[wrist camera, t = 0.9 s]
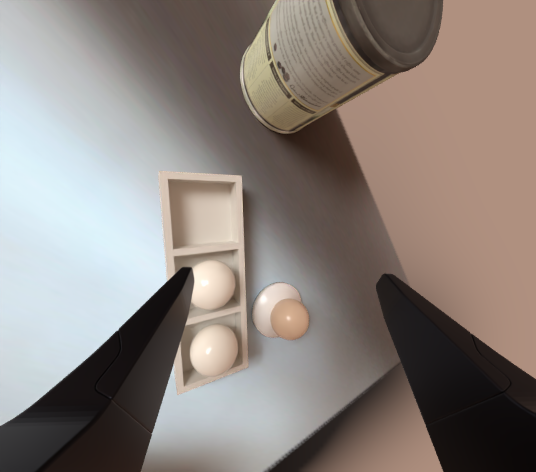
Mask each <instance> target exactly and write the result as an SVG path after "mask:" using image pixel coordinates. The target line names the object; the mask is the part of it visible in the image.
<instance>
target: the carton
mask: <svg viewBox="0 0 536 472" xmlns="http://www.w3.org/2000/svg"><path fill="white" fill-rule="evenodd" d="M158 180H159V192H160V204H161V216H162V229H163V241H164V253H165V265H166V277H167V281H168V280H169V279H170V278H171V277H172V276H173V275H174V274H175V273H176V272H177V271H178V270H179V269H180V268H181V267H192V268H193V267H194V266H195V265H196V264H198V263H200V262H202V261H205V260H218V261H221V262H223V263H225V264H226V265H227V266H229V267H230V269H231V270H232V272H233V274H234V276H235V282H236V284H235V290H234V293H233V295H232V297H231V299H230V300H229V301H228V302H227V303H226V304H225V305H223V306H222V307H220V308H217V309H213V310H205V309H201V308H198V307H196V306H195V305H193V304H192V303H191V304H190V310H189V315H188V318H187V322H186V325H185V328H184V332H183V335H182V338H181V341H180V345H179V348H178V351H177V354H176V358H175V361H174V374H175V381H176V389H177V395H179V394H182V393H184V392H187V391H189V390H192V389H194V388H197V387H199V386H202V385H205V384H207V383H210V382H212V381H215V380H217V379H220V378H222V377H225V376H227V375H230V374H232V373H235V372H237V371H240V370H243V369H245V368H248V343H247V314H246V286H245V258H244V229H243V201H242V176H236V175H219V174H202V173H185V172H168V171H159V175H158ZM211 324H222V325H225V326H227V327H229V328H230V329H231V330H232V331H233V332H234V334H235V336H236V338H237V341H238V353H237V357H236V360H235V362H234V363H233V365H232V366H231V368H230V369H229V370H227V371H226V372H225V373H223V374H221V375H219V376H215V377H207V376H204V375H201V374H200V373H198V372H197V371H196V370H195V368H194V367H193V365H192V363H191V360H190V346H191V343H192V341H193V339H194V337H195V335H196V334H197V333H198V332H199V331H200V330H201V329H202V328H204V327H206V326H208V325H211Z"/></svg>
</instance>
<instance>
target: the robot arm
mask: <svg viewBox="0 0 536 472" xmlns="http://www.w3.org/2000/svg"><path fill="white" fill-rule="evenodd" d="M193 288H194V274H193V269H192V267H181V268H180V269H179V270H178V271H177V272H176V273H175V274H174V275H173V276H172V277H171V278H170V279H169V280H168V281H167V282H166V283H165V284H164V285H163V286H162V287H161V288H160V289H159V290H158V291H157V292H156V293H155V294H154V295H153V296H152V297H151V298H150V299H149V300H148V301H147V302H146V303H145V304H144V305H143V306H142V307H141V308H140V309H139V310H138V311H137V312H136V313H135V314H134V315H133V316H131V317H130V318H129V319H128V320H127V321H126V322H125V323H124V324H123V325H122V326H121V327H120V328H119V331H116V332H115V333H114V334H113V335H112V336H111V337H110V338H109V339H108V340H107V341H106V342H105V343H104V344H103V345H102V346H101V347H99V348H98V349H97V350H96V351H95V352H94V353H93V354H92V355H91V356H90V357H88V358H87V359H86V360H85V361H84V362H83V363H82V364H80V365H79V366H78V367H77V368H76V369H75V370H73V371H72V372H71V373H70V374H69V375H67V376H66V377H65V378H64V379H63V380H62V381H60V382H59V383H58V384H57V385H56V386H54V387H53V388H52V389H51V390H50V391H49V392H47V393H46V394H45V395H44V396H43V397H41V398H40V399H39V400H38V401H37V402H35V403H34V404H33V405H32V406H30V407H29V408H28V409H26V410H25V411H24V412H22V413H21V414H19V415H18V416H16V417H15V418H13V419H12V420H10V421H8V422H7V423H5V424H3V425H1V426H0V472H141V468H142V465H143V462H144V459H145V455H146V452H147V449H148V446H149V442H150V439H151V436H152V434H151V433H152V432H153V429H154V426H155V423H156V419H157V416H158V413H159V410H160V406H161V403H162V400H163V397H164V393H165V390H166V387H167V384H168V380H169V377H170V374H171V371H172V367H173V364H174V361H175V358H176V354H177V351H178V348H179V345H180V341H181V338H182V335H183V332H184V328H185V325H186V322H187V318H188V315H189V310H190V304H191V299H192V293H193ZM376 291H377V294H378V298H379V302H380V305H381V309H382V313H383V316H384V319H385V322H386V324H387V327H388V330H389V332H390V335H391V337H392V340H393V343H394V345H395V348H396V350H397V353H398V355H399V358H400V361H401V363H402V366H403V368H404V371H405V373H406V376H407V378H408V381H409V383H410V386H411V389H412V391H413V394H414V396H415V399H416V402H417V404H418V407H419V409H420V412H421V415H422V417H423V420H424V422H425V424H426V428H427V430H428V433H429V435H430V438H431V441H432V443H433V446H434V448H435V451H436V454H437V456H438V459H439V461H440V464H441V466H442V469H443V472H536V379H535V378H533V377H532V376H530V375H529V374H527V373H526V372H524V371H523V370H522V369H520V368H518V367H517V366H516V365H514V364H513V363H511V362H510V361H508V360H507V359H506V358H504V357H503V356H501V355H500V354H498V353H497V352H496V351H494V350H493V349H492V348H490V347H489V346H487V345H486V344H485V343H483V342H482V341H481V340H479V339H478V338H477V337H475V336H474V335H473V334H471V333H470V332H469V331H467V330H466V329H465V328H464V327H462V326H461V325H460V324H458V323H457V322H456V321H454V320H453V319H451V318H450V317H449V316H448V315H446V314H445V313H444V312H442V311H441V310H439V309H438V308H437V307H436V306H434V305H433V304H432V303H430V302H429V301H428V300H426V299H425V298H424V297H423V296H421V295H420V294H419V293H417V292H416V291H415V290H413V289H412V288H411V287H409V286H408V285H407V284H405V283H404V282H403V281H401V280H400V279H399V278H397V277H396V276H395V275H393V274H383V275H382V276H381V278H380V279H379V281H378V282H377V284H376Z"/></svg>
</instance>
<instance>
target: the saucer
mask: <svg viewBox="0 0 536 472" xmlns="http://www.w3.org/2000/svg"><path fill="white" fill-rule="evenodd" d="M287 298H291V299H295V300H298V301H299V302H301V297H300V295H299V293H298V291H297V290H296V289H295V288H294V287H293V286H291V285H289V284H287V283H284V282H276V283H273V284H270V285H268V286H267V287H265V288H264V289H263V290H262V291H261V292H260V293H259V295H258V296H257V298H256V300H255V302H254V304H253V308H252V320H253V323H254V325H255V327H256V328H257V329H258V330H259V332H260V333H261V334H263V335H264V336H267V337H271V338H274V337H279V336H278V335H277V334H276V333H275V332H274V330H273V328H272V326H271V322H270V315H271V311H272V309H273V307H274V306H275V304H276V303H278V302H279V301H281V300H283V299H287Z"/></svg>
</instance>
